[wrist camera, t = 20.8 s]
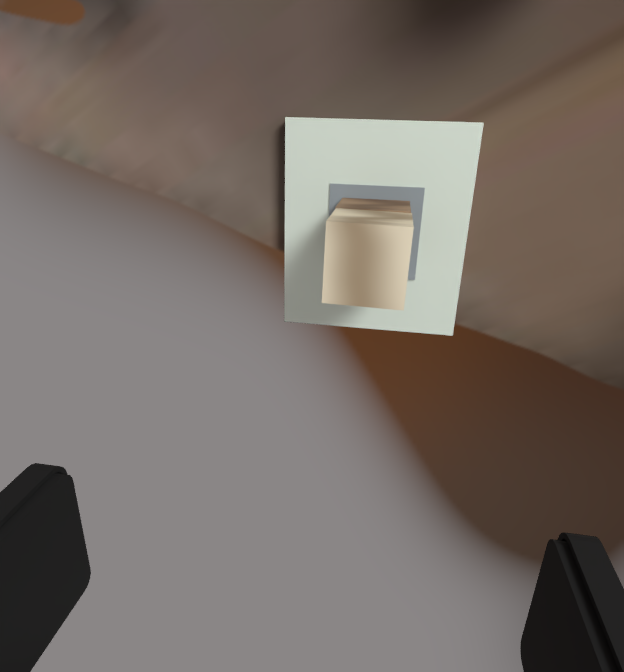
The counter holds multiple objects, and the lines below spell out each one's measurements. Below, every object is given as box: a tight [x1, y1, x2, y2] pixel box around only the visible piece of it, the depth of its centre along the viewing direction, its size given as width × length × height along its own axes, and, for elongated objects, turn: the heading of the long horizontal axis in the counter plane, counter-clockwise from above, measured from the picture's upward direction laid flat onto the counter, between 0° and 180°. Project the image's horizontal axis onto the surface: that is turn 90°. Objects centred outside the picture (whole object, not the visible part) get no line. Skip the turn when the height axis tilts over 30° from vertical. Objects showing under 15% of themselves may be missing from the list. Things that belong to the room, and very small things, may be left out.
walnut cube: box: [335, 198, 411, 213], centre depth 37 cm, size 5×5×5 cm
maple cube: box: [322, 208, 414, 311], centre depth 32 cm, size 5×5×5 cm
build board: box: [284, 117, 484, 336], centre depth 40 cm, size 14×16×1 cm
